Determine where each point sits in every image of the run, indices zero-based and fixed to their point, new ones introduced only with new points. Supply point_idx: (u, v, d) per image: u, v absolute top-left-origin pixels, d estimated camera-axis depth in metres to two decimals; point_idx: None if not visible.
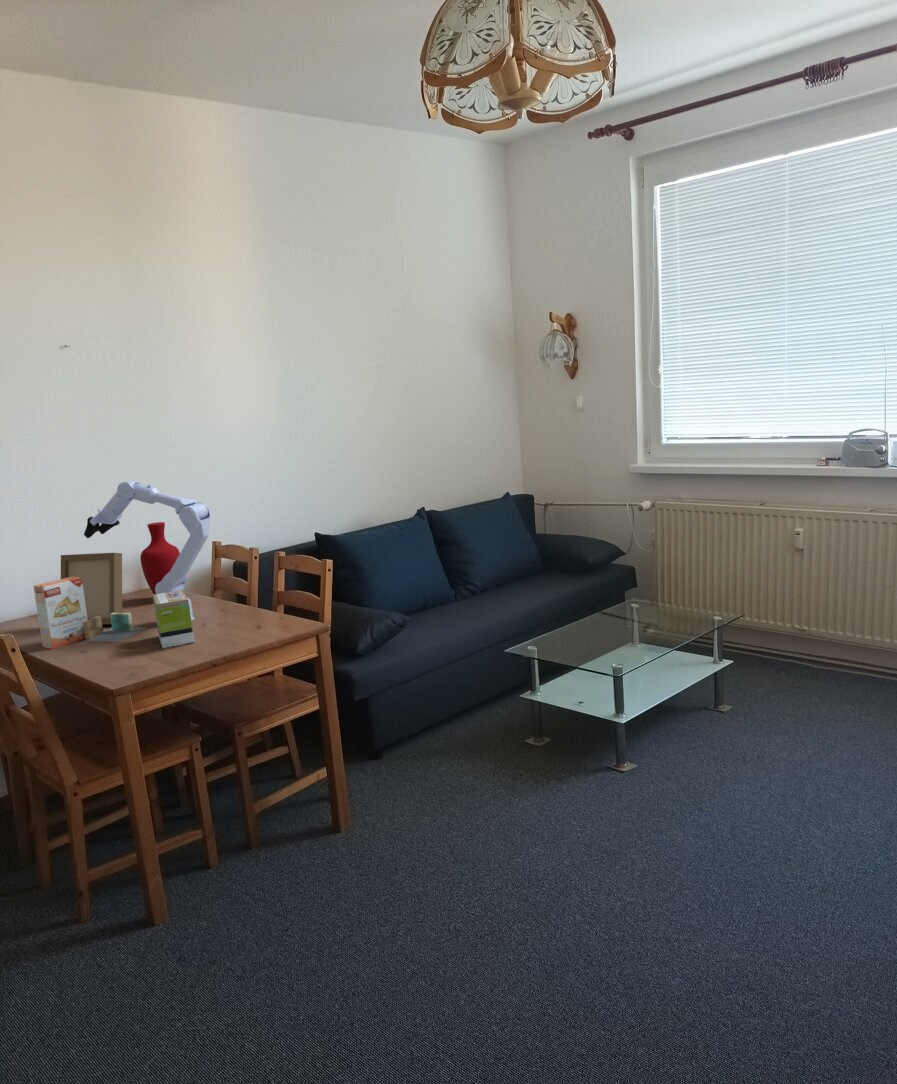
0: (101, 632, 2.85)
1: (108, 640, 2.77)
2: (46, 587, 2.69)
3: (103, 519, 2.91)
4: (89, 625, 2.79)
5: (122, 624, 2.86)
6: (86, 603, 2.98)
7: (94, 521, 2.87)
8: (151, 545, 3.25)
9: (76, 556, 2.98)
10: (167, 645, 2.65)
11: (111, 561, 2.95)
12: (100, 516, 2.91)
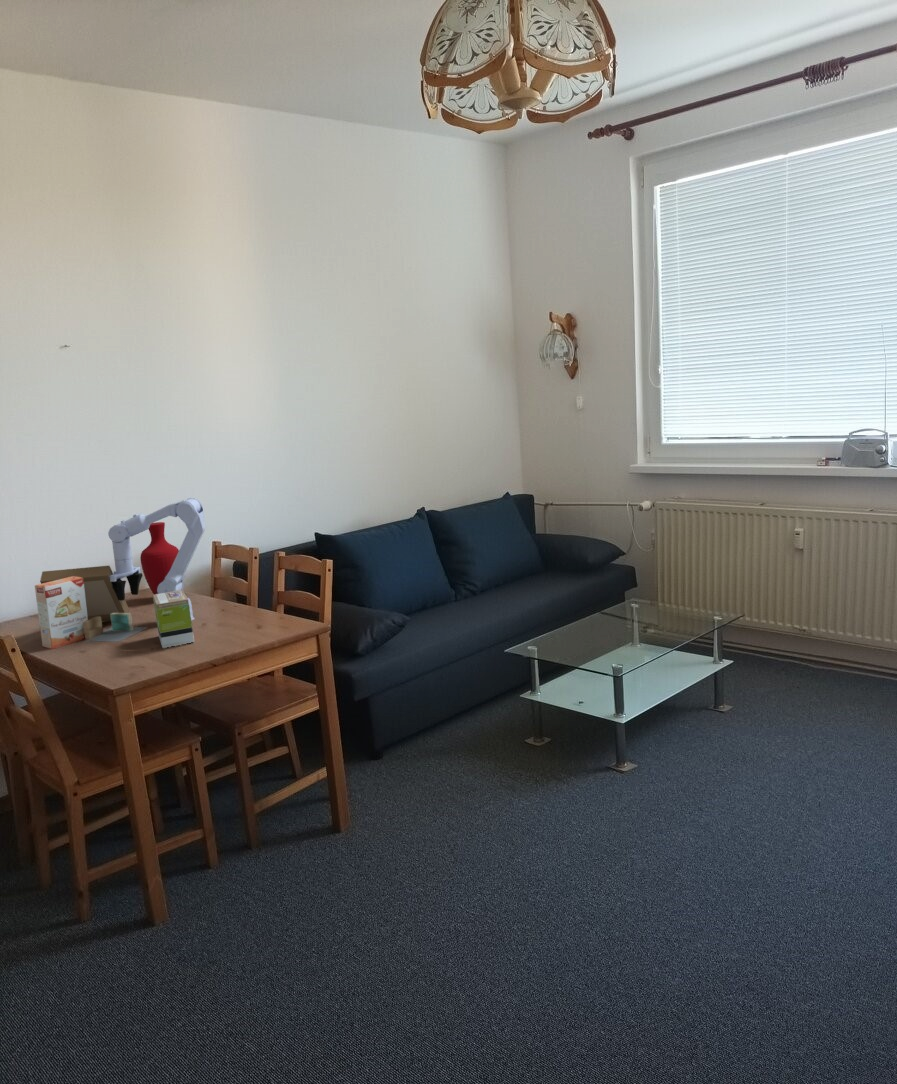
0: (101, 632, 2.85)
1: (108, 640, 2.77)
2: (47, 587, 2.68)
3: (121, 573, 2.88)
4: (89, 625, 2.79)
5: (122, 624, 2.86)
6: None
7: (112, 577, 2.85)
8: (151, 545, 3.25)
9: None
10: (167, 645, 2.65)
11: (106, 581, 2.85)
12: (117, 573, 2.89)
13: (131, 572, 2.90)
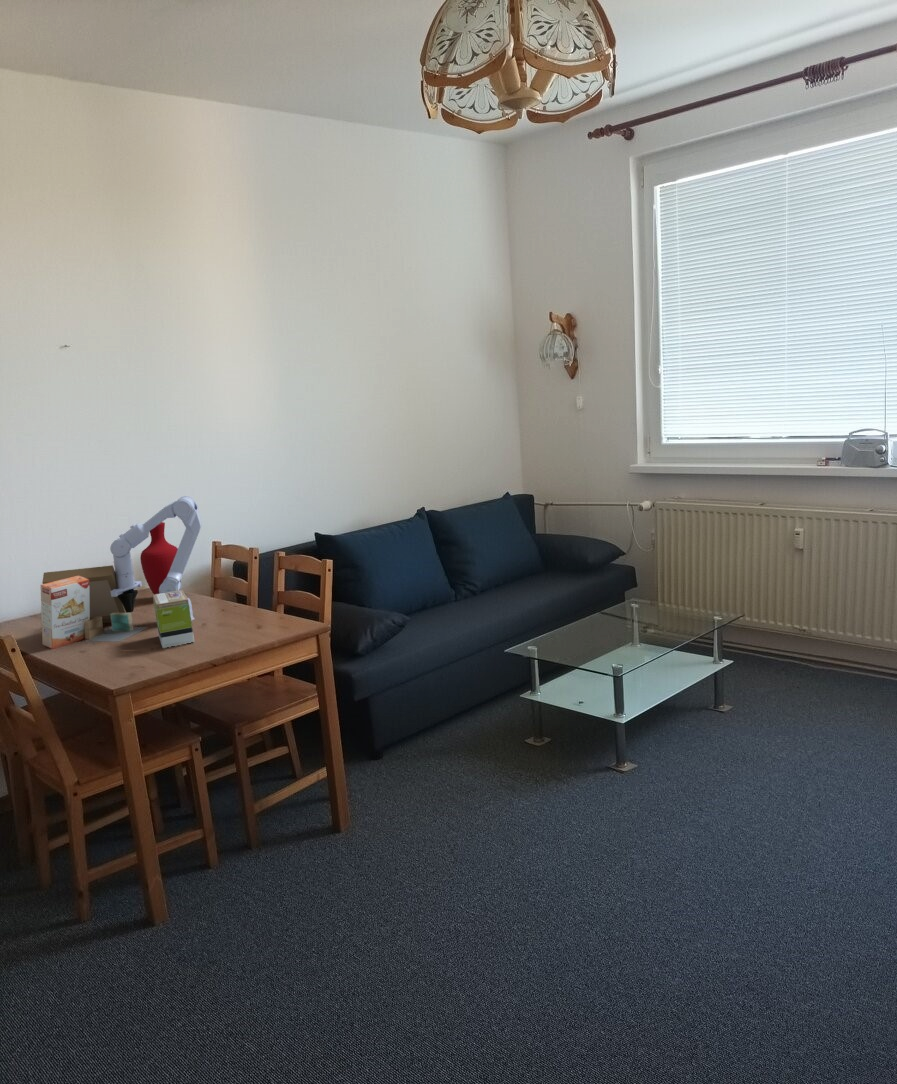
0: (101, 632, 2.85)
1: (108, 640, 2.77)
2: (54, 589, 2.67)
3: (122, 588, 2.87)
4: (90, 625, 2.79)
5: (122, 624, 2.86)
6: None
7: (114, 592, 2.83)
8: (151, 545, 3.25)
9: None
10: (167, 645, 2.65)
11: (110, 581, 2.84)
12: (118, 588, 2.87)
13: (132, 587, 2.89)
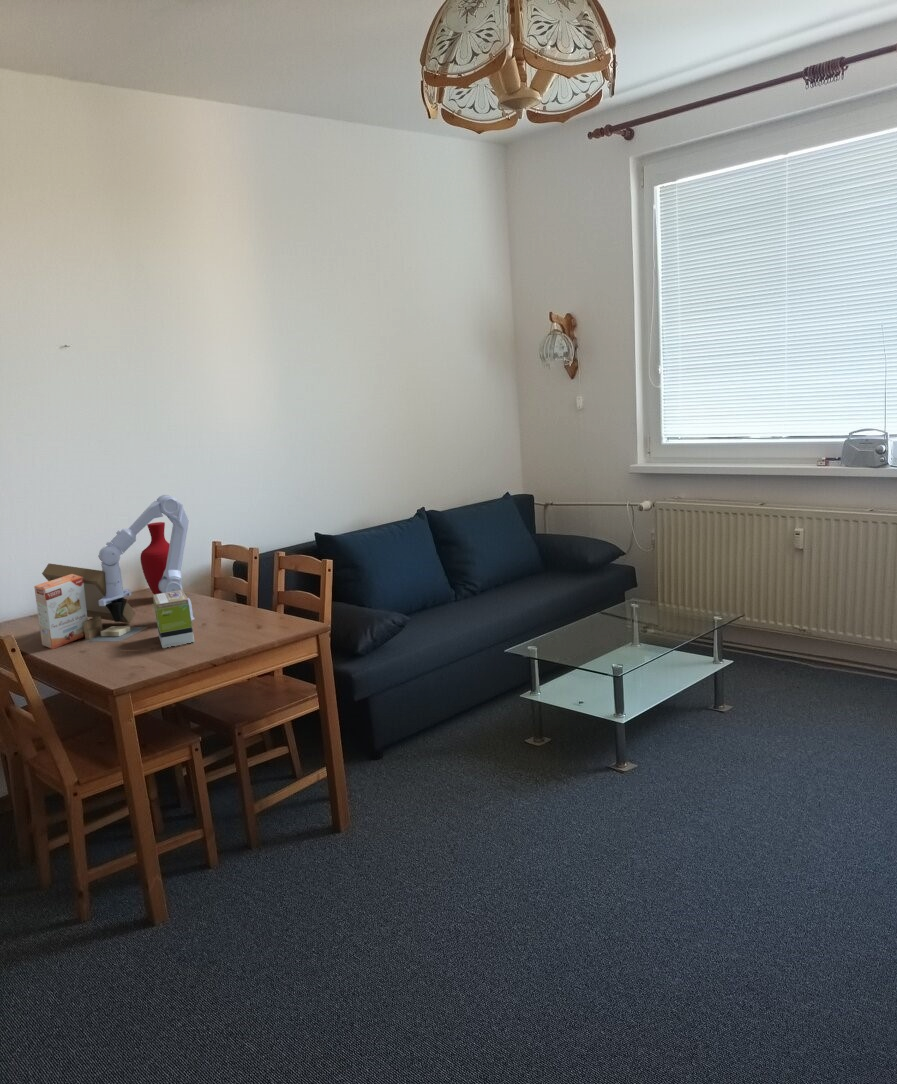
0: None
1: (108, 640, 2.77)
2: (47, 589, 2.66)
3: (110, 597, 2.81)
4: (89, 625, 2.79)
5: None
6: (92, 603, 2.94)
7: (102, 601, 2.77)
8: (151, 545, 3.25)
9: (59, 577, 2.81)
10: (167, 645, 2.65)
11: (98, 586, 2.79)
12: (107, 597, 2.81)
13: (121, 596, 2.83)
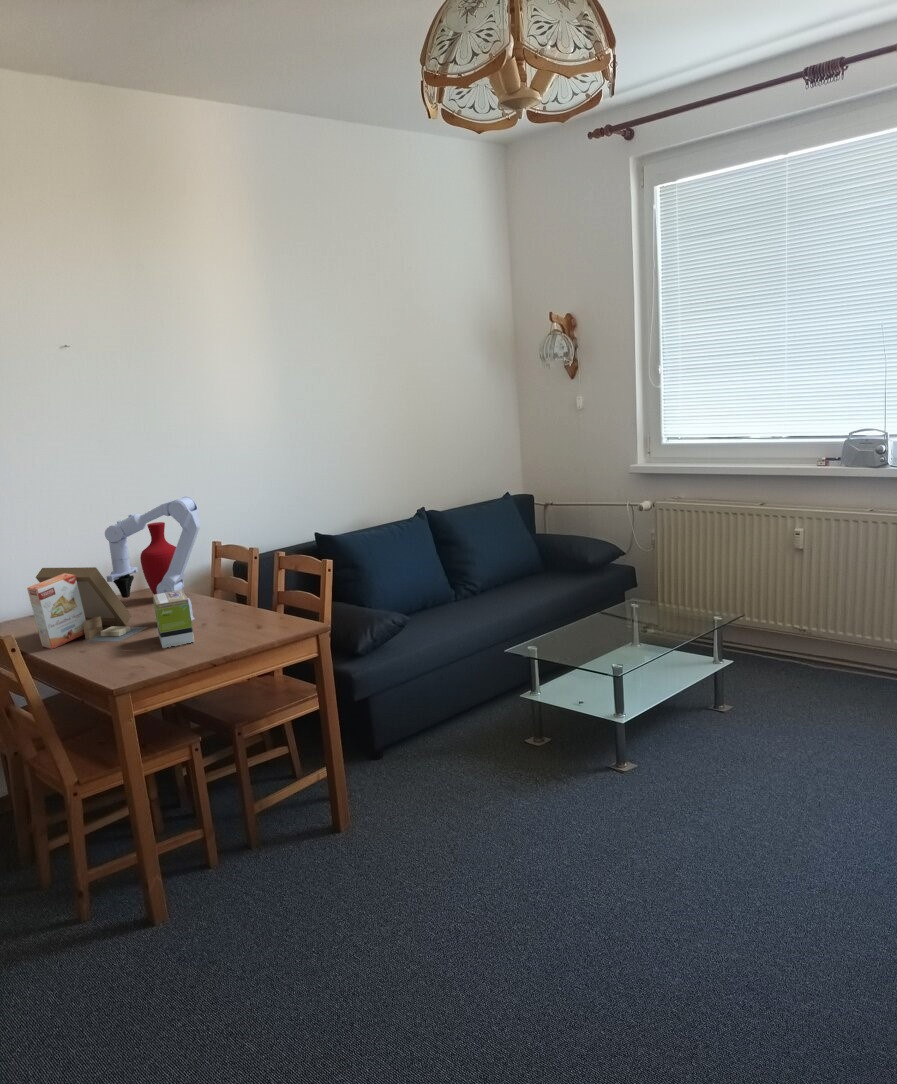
0: None
1: (108, 640, 2.77)
2: (40, 589, 2.66)
3: (118, 573, 2.90)
4: (89, 625, 2.79)
5: None
6: (87, 608, 2.93)
7: (110, 577, 2.86)
8: (151, 545, 3.25)
9: None
10: (167, 645, 2.65)
11: (91, 583, 2.79)
12: (114, 574, 2.90)
13: (128, 572, 2.92)
